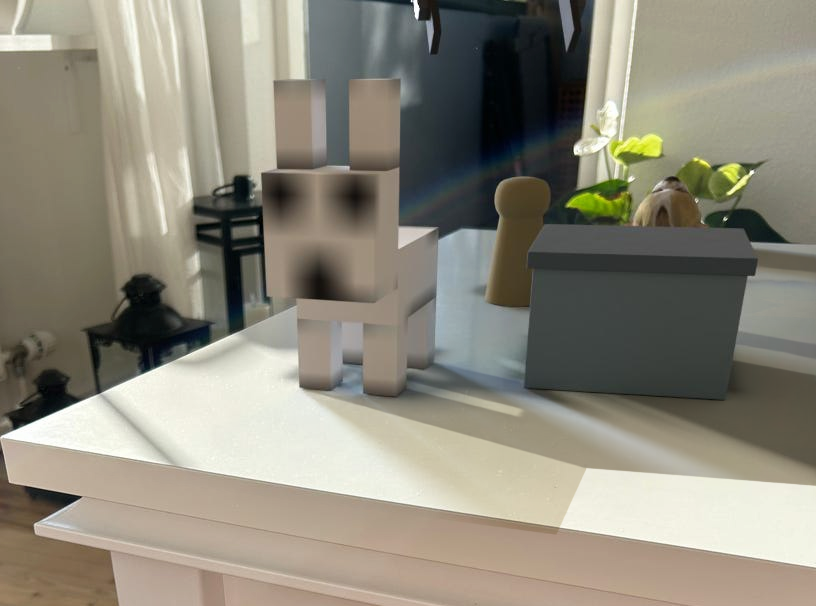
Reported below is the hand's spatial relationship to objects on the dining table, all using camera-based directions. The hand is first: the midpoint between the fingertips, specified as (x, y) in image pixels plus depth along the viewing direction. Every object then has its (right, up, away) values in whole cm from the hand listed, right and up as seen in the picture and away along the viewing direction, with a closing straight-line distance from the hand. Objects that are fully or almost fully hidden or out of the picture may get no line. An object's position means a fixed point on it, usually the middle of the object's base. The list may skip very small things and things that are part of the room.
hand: (505, 42), depth 99 cm
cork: (+1, -24, +2) cm, 25 cm away
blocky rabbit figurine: (-14, -38, -21) cm, 46 cm away
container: (+6, -37, -21) cm, 43 cm away
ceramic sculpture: (+22, -12, +22) cm, 33 cm away
